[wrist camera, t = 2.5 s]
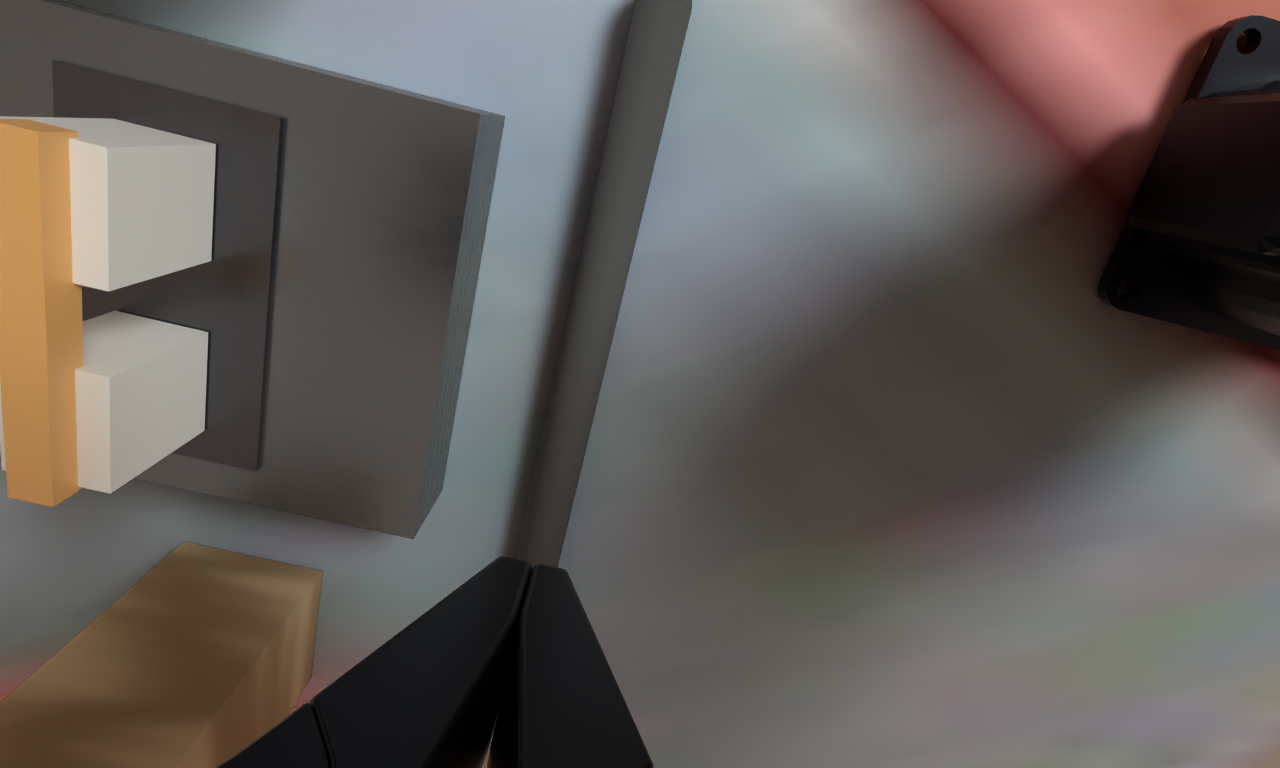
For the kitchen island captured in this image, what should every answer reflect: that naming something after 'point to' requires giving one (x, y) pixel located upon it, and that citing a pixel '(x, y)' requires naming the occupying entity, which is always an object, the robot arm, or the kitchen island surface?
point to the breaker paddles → (107, 260)
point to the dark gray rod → (603, 269)
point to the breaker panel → (293, 257)
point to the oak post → (172, 668)
